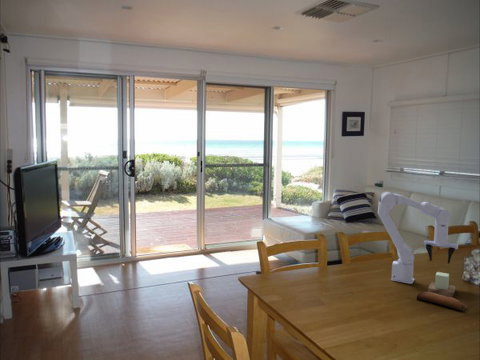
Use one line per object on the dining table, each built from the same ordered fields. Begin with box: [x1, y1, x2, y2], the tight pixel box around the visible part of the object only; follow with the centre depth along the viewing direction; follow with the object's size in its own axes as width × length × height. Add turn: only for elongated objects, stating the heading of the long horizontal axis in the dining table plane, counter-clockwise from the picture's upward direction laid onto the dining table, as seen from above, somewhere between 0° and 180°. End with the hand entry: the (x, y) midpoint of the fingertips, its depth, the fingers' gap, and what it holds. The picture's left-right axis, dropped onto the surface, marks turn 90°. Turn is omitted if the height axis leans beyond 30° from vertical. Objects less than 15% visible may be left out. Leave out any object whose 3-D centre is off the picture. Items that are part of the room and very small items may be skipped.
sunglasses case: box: [416, 291, 468, 312], centre depth 172 cm, size 18×7×7 cm
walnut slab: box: [427, 281, 456, 298], centre depth 186 cm, size 10×10×2 cm
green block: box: [434, 271, 450, 290], centre depth 185 cm, size 5×5×6 cm
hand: (439, 261), depth 196 cm, fingers open, 7 cm apart
